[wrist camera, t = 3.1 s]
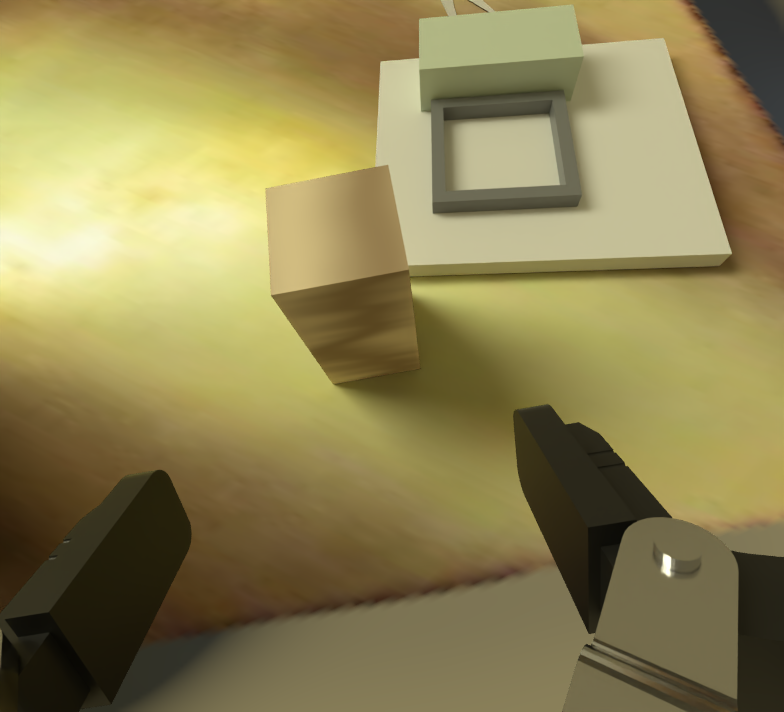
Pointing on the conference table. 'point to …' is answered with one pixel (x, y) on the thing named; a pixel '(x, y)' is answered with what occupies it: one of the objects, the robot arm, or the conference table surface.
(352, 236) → the maple block
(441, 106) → the board
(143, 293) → the conference table surface
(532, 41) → the pale green block
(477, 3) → the scissors
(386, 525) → the conference table surface
